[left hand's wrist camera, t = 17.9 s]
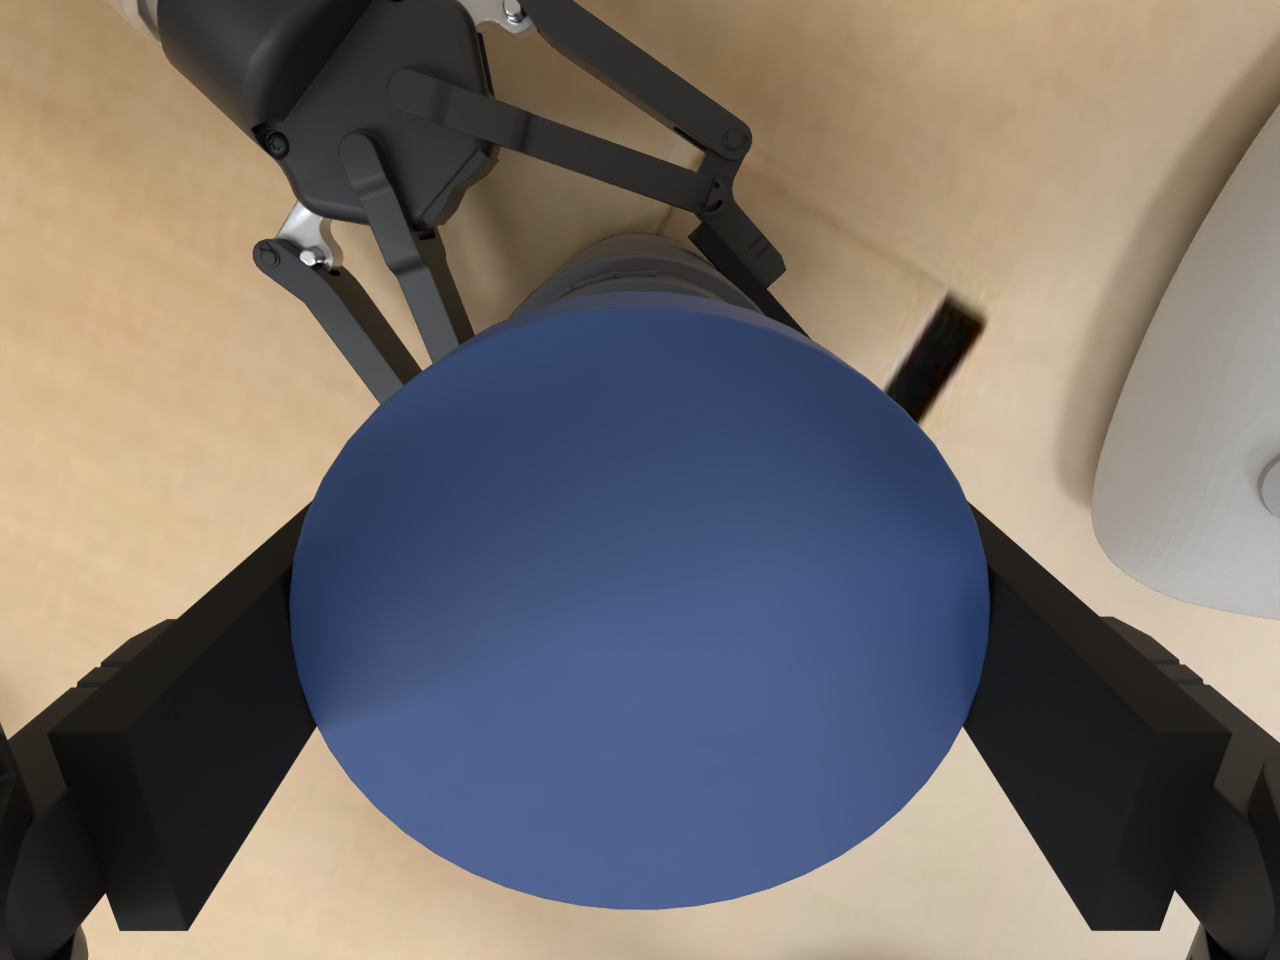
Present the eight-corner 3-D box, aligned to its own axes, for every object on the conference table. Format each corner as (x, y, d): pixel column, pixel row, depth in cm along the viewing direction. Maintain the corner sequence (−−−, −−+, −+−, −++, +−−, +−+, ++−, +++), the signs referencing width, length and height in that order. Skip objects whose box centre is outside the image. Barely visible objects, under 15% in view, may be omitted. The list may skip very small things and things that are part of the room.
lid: (1064, 521, 12) (1144, 579, 10) (704, 891, 14) (714, 989, 13) (541, 142, 10) (517, 124, 8) (246, 659, 12) (179, 736, 11)
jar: (498, 341, 33) (393, 447, 19) (633, 186, 30) (630, 173, 16) (641, 468, 35) (644, 646, 21) (778, 334, 33) (883, 434, 19)
